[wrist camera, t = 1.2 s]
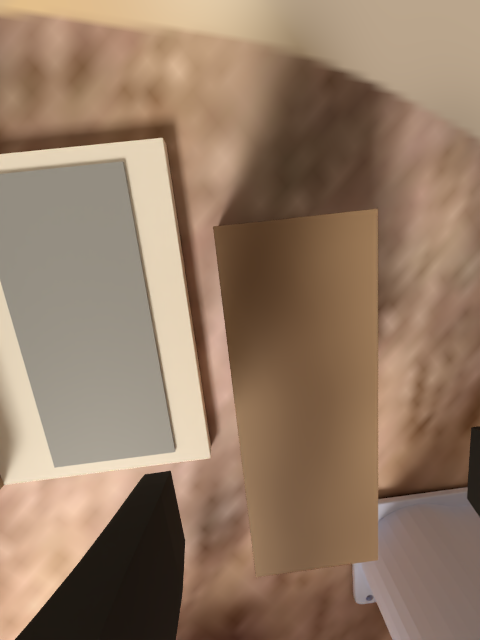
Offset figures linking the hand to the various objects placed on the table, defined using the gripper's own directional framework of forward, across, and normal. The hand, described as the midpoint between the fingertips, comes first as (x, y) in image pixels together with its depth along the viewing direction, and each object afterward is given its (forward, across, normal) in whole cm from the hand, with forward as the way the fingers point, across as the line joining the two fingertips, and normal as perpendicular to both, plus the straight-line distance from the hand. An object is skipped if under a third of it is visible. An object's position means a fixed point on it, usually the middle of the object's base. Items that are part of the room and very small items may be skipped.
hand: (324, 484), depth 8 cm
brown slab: (+10, 0, 0) cm, 11 cm away
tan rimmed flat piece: (+10, +10, -2) cm, 14 cm away
